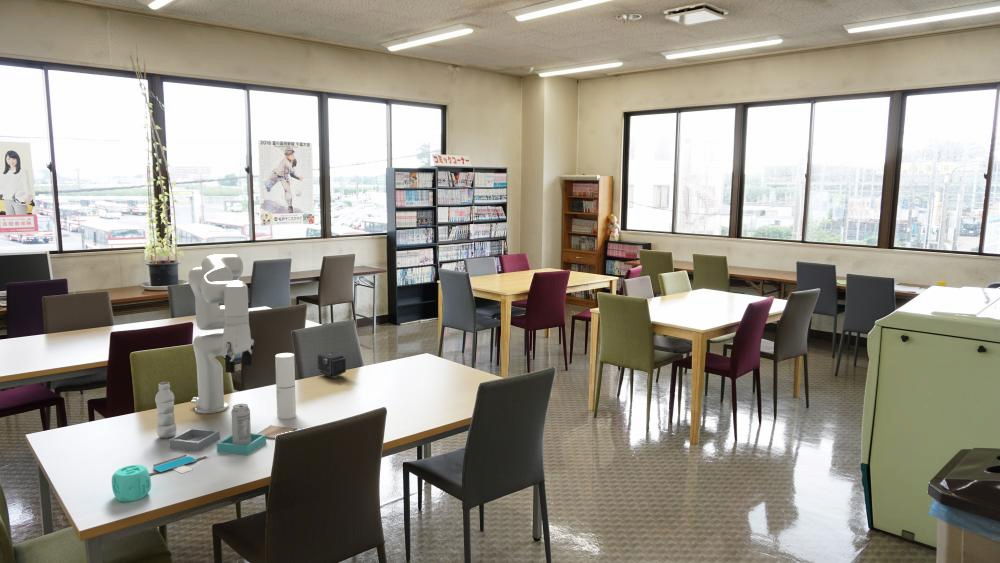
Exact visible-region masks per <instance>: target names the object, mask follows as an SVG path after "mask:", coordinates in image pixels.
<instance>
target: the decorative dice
mask: <svg viewBox="0 0 1000 563" xmlns="http://www.w3.org/2000/svg"><path fill="white" fill-rule="evenodd" d="M149 474H150V472H149V470H148V468H147V467H146V466H145V465H143V464H133V465H126V466H123V467H121V468H119V469H117V470H116V471H115V472H113V475H112V476H111V488H112V492H113V494H114V495H113V496H114V498H115V499H116V500H117V501H118V502H121V503H123V502H124V503H130V502H135V501H138V500H141V499H143V498H144V497H146V496H147V495H148V493H149V492H150V490H151V488H152V482H151V481H152V480H151V475H149Z"/></svg>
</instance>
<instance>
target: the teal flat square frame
mask: <svg viewBox="0 0 1000 563" xmlns="http://www.w3.org/2000/svg"><path fill="white" fill-rule="evenodd" d="M266 443H267V438H266V435H264V434H257V433H255V432H254V433H252V432H251V443H250V444H248V445H246V446H245V445H236V444H233V438H232V434H231V435H229V436H227V437H226V438H223V439H222V440H219V442H217V443H216V452H217V453H223V454H224V453H226V454H233V455H242V456H243V455H244V456H248V455H249V454H251V453H253V452H254V451H256V450H257V449H259V448H261V447H262V446H264V445H265V444H266ZM263 444H264V445H263Z"/></svg>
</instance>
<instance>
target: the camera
mask: <svg viewBox="0 0 1000 563" xmlns="http://www.w3.org/2000/svg"><path fill="white" fill-rule="evenodd" d="M346 360H347V359H346V358H345V357H344V355H342V354H339V353H336V352H333V351H330V352H326V353H320V354H317V369H318V370H319V371H320V373H321V374H322V375H325V376H326V377H330V378H331V379H336V378H338V376H341V375H342V374H344V373H346V371H347V370H346V368H347V366H346V365H347V364H346Z"/></svg>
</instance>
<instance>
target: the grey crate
mask: <svg viewBox="0 0 1000 563" xmlns="http://www.w3.org/2000/svg"><path fill="white" fill-rule="evenodd" d="M192 438H197V439H198V438H200V440H199V441H196V440H195V441H194V440H190V439H192ZM168 440H169V441H168V442H169V448H170V449H177V450H187V451H194V452H197V451H198V452H199V451H202V450H203V449H205V448H207V447H208V446H210V445H212V444H215V443H216V442H217V441H220V440H221V433H220V430H214V429H213V430H212V429H202V428H196V427H195V428H194V427H193V428H190V429H189V428H188V430H185V431H184V432H183V431H182V432H181V433H180V434H177V435H174V436H172V437H170V438H169V439H168Z"/></svg>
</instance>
